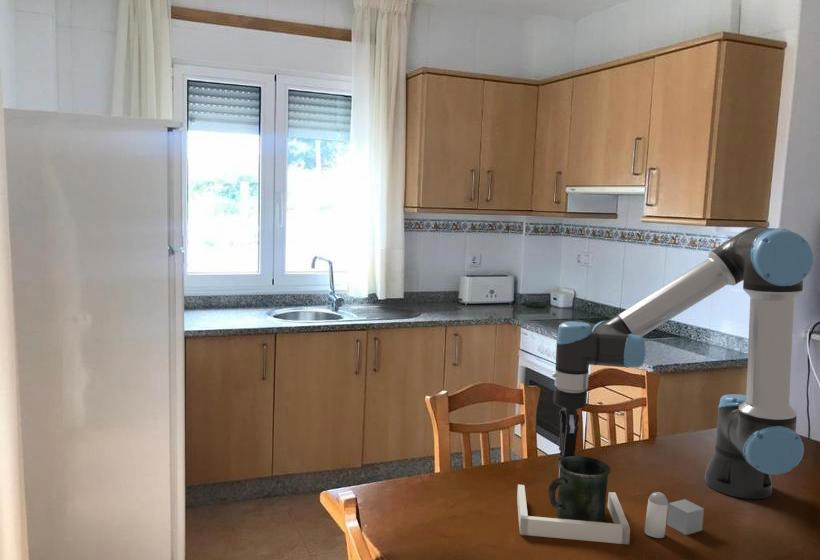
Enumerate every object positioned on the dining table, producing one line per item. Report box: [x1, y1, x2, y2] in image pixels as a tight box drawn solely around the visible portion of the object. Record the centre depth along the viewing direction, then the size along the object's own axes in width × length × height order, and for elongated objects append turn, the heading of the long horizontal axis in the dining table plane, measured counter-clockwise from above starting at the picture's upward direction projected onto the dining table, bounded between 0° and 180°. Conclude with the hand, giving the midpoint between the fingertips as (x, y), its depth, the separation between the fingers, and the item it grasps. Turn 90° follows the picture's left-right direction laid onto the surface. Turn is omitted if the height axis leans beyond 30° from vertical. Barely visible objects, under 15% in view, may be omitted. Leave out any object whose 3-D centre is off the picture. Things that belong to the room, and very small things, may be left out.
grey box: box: [666, 498, 705, 536], centre depth 147 cm, size 5×5×5 cm
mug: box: [548, 455, 611, 523], centre depth 148 cm, size 11×15×12 cm
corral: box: [516, 484, 631, 545], centre depth 148 cm, size 22×17×4 cm
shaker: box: [644, 491, 669, 539], centre depth 143 cm, size 4×4×9 cm
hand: (564, 485), depth 161 cm, fingers closed
